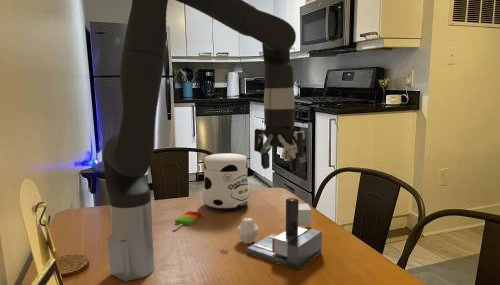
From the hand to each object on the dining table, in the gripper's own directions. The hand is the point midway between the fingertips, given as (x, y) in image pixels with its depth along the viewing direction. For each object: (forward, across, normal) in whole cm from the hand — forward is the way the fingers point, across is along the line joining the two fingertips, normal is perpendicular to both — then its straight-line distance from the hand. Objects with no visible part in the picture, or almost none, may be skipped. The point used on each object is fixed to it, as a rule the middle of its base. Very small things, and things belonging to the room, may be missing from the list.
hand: (280, 170), depth 97 cm
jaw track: (+23, +1, +1) cm, 23 cm away
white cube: (+23, -6, +21) cm, 32 cm away
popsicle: (+23, -37, 0) cm, 43 cm away
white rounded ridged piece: (+23, -12, +1) cm, 25 cm away
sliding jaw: (+21, +3, +1) cm, 21 cm away
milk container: (+23, -37, +21) cm, 49 cm away
